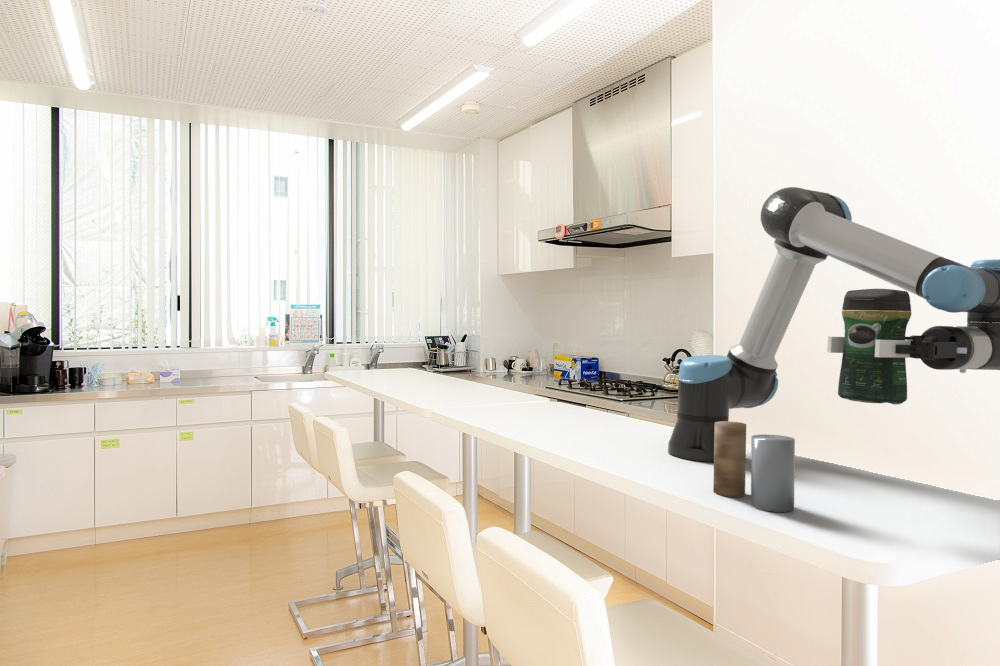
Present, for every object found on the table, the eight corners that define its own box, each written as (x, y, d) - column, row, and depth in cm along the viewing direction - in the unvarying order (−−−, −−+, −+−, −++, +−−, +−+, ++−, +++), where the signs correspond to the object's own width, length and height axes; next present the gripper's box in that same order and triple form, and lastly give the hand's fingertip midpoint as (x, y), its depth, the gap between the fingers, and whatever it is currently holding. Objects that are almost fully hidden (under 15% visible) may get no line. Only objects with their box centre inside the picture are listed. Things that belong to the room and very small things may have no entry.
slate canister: (742, 503, 116) (742, 436, 115) (769, 498, 119) (769, 433, 119) (775, 514, 110) (776, 443, 109) (803, 508, 113) (803, 439, 113)
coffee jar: (914, 404, 105) (921, 289, 104) (888, 406, 101) (895, 287, 100) (855, 396, 113) (861, 289, 113) (829, 398, 109) (834, 287, 109)
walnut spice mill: (707, 490, 124) (708, 422, 123) (730, 487, 126) (731, 420, 125) (727, 498, 118) (728, 427, 118) (751, 495, 121) (753, 425, 120)
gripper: (1017, 376, 103) (911, 376, 96) (895, 363, 123) (800, 363, 116) (1020, 329, 103) (914, 325, 95) (898, 324, 123) (803, 321, 115)
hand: (852, 346), depth 105 cm, fingers closed on coffee jar, 8 cm apart
